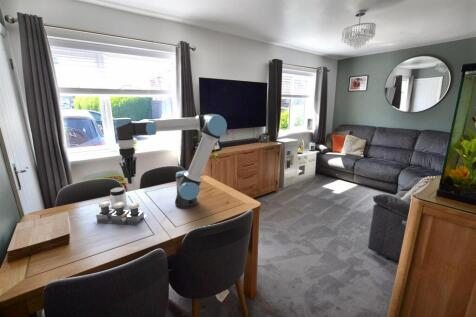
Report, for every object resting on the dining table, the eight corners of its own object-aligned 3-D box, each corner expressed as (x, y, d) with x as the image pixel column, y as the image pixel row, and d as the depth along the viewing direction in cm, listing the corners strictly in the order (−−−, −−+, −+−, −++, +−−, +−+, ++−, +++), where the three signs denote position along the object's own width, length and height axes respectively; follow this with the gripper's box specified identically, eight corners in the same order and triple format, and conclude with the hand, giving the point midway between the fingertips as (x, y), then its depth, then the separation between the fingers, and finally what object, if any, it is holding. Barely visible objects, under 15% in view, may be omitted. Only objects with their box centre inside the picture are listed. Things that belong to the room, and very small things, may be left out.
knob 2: (142, 217, 131) (140, 202, 129) (137, 222, 126) (135, 207, 124) (133, 216, 132) (131, 202, 130) (128, 221, 127) (126, 206, 124)
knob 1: (113, 215, 133) (111, 201, 131) (107, 220, 128) (105, 205, 125) (105, 215, 134) (102, 201, 131) (98, 219, 128) (96, 205, 126)
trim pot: (128, 221, 128) (127, 213, 126) (125, 224, 124) (124, 215, 123) (123, 220, 128) (122, 212, 127) (120, 223, 125) (119, 215, 123)
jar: (112, 210, 142) (109, 193, 139) (111, 205, 149) (108, 189, 146) (127, 207, 147) (125, 190, 144) (126, 202, 153) (123, 186, 150)
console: (147, 216, 135) (146, 209, 134) (136, 227, 123) (135, 219, 122) (107, 214, 137) (106, 207, 136) (93, 224, 126) (91, 216, 124)
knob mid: (128, 216, 132) (126, 202, 130) (122, 221, 127) (120, 206, 125) (119, 216, 133) (117, 201, 131) (113, 220, 127) (111, 206, 125)
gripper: (127, 144, 125) (131, 183, 131) (112, 149, 113) (118, 192, 119) (139, 145, 125) (144, 184, 131) (126, 149, 112) (132, 193, 118)
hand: (131, 188), depth 125 cm, fingers closed
